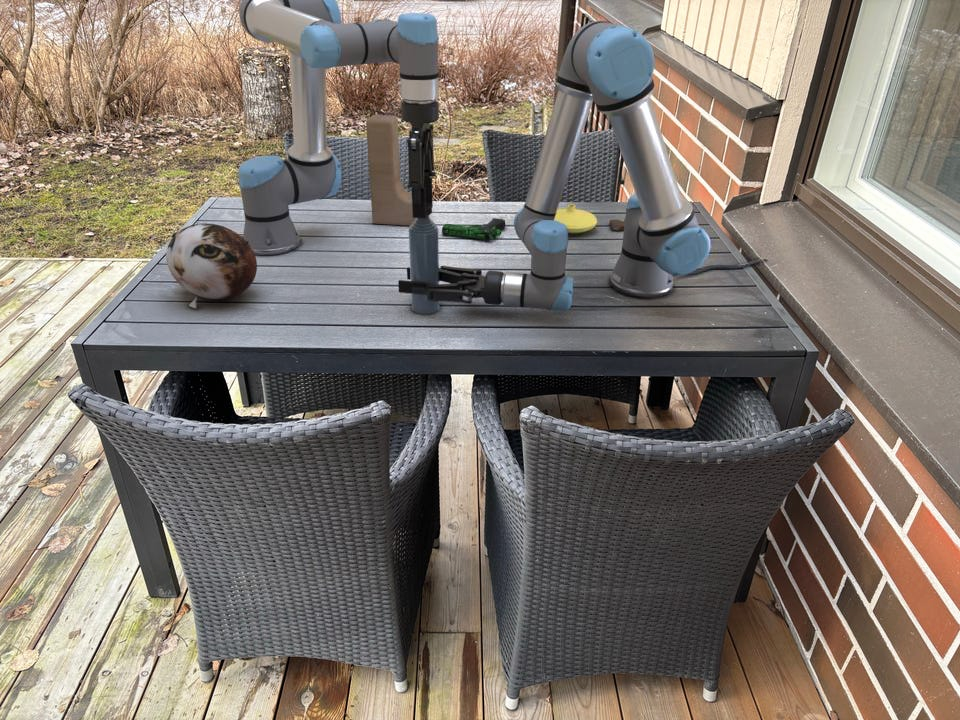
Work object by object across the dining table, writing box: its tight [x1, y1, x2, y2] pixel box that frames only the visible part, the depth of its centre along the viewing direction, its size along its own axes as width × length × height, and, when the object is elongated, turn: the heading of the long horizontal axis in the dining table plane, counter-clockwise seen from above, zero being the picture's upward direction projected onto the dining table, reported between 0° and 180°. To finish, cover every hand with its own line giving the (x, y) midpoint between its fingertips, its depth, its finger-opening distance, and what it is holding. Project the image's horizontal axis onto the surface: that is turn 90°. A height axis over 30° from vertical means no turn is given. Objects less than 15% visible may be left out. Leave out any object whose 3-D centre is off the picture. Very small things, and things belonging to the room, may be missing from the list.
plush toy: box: [165, 222, 258, 309], centre depth 165 cm, size 22×18×20 cm
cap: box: [426, 202, 433, 216], centre depth 153 cm, size 4×4×2 cm
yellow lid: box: [554, 203, 598, 234], centre depth 209 cm, size 16×16×7 cm
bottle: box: [408, 215, 441, 315], centre depth 159 cm, size 6×6×24 cm
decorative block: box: [365, 114, 416, 227], centre depth 207 cm, size 8×15×30 cm, turn 82°
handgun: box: [441, 217, 506, 242], centre depth 207 cm, size 16×3×15 cm
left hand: (422, 211), depth 154 cm, fingers open, 6 cm apart
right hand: (403, 279), depth 163 cm, fingers closed on bottle, 6 cm apart
